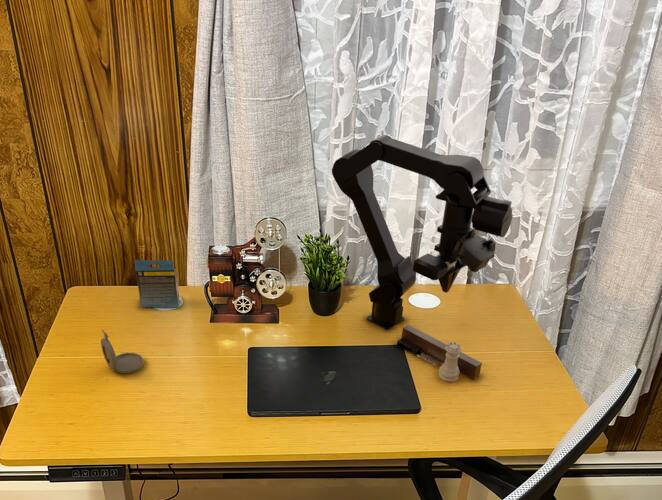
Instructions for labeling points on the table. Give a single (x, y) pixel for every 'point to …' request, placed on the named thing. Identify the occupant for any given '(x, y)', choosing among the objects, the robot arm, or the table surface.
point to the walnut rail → (441, 351)
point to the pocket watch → (120, 358)
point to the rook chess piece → (450, 363)
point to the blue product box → (157, 283)
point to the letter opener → (415, 351)
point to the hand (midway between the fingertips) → (445, 291)
